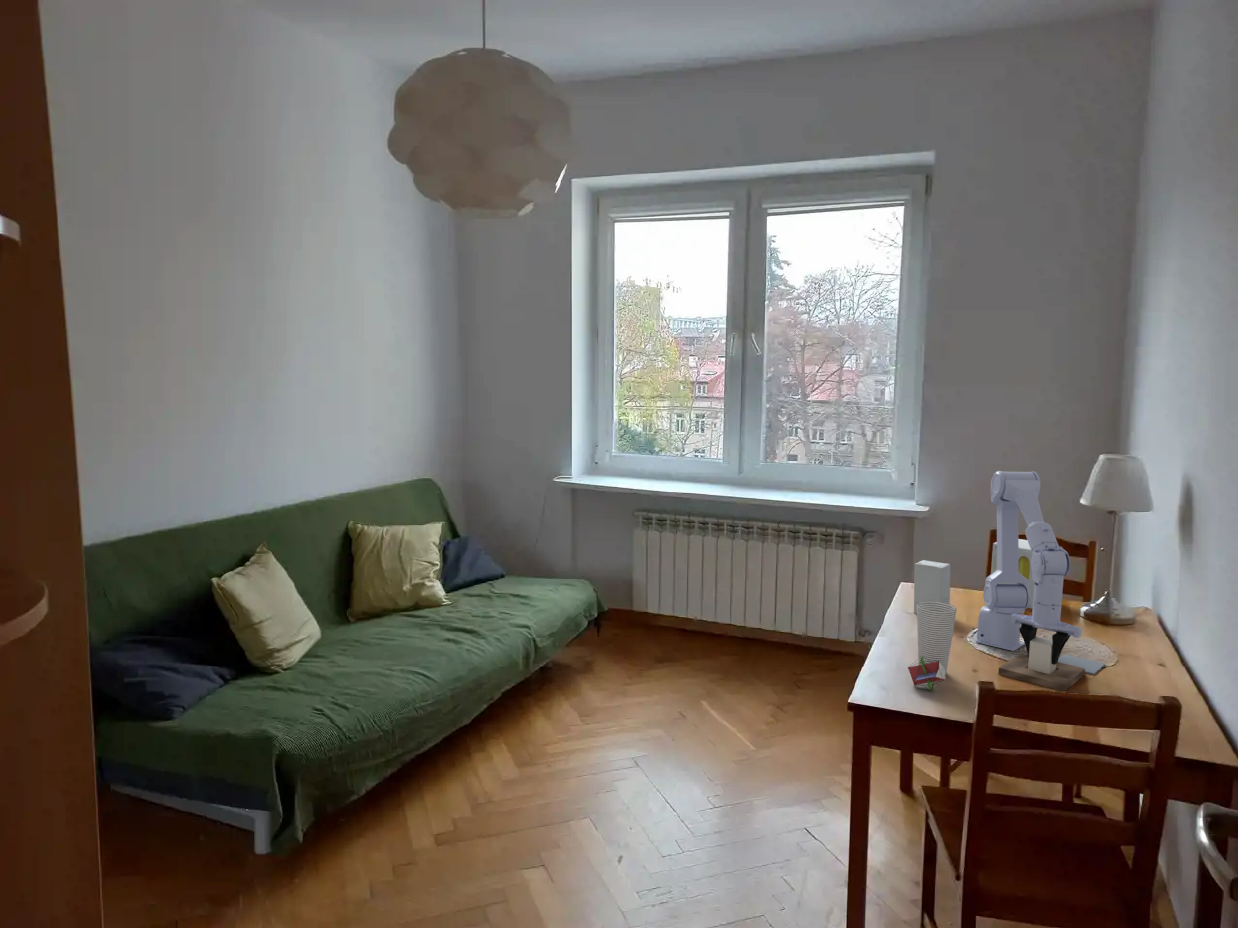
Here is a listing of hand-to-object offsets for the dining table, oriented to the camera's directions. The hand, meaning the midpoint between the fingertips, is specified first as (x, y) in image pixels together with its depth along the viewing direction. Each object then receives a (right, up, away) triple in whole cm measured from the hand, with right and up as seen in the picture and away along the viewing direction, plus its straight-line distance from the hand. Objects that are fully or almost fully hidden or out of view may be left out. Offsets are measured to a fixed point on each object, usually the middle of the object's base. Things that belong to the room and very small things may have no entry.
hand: (1042, 660), depth 193 cm
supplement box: (+24, +4, +61) cm, 65 cm away
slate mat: (+12, -3, +7) cm, 14 cm away
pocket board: (0, -3, 0) cm, 3 cm away
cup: (-25, -3, +1) cm, 25 cm away
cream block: (0, -3, 0) cm, 3 cm away
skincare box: (-9, +2, +45) cm, 46 cm away
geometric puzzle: (-30, -4, -8) cm, 31 cm away
